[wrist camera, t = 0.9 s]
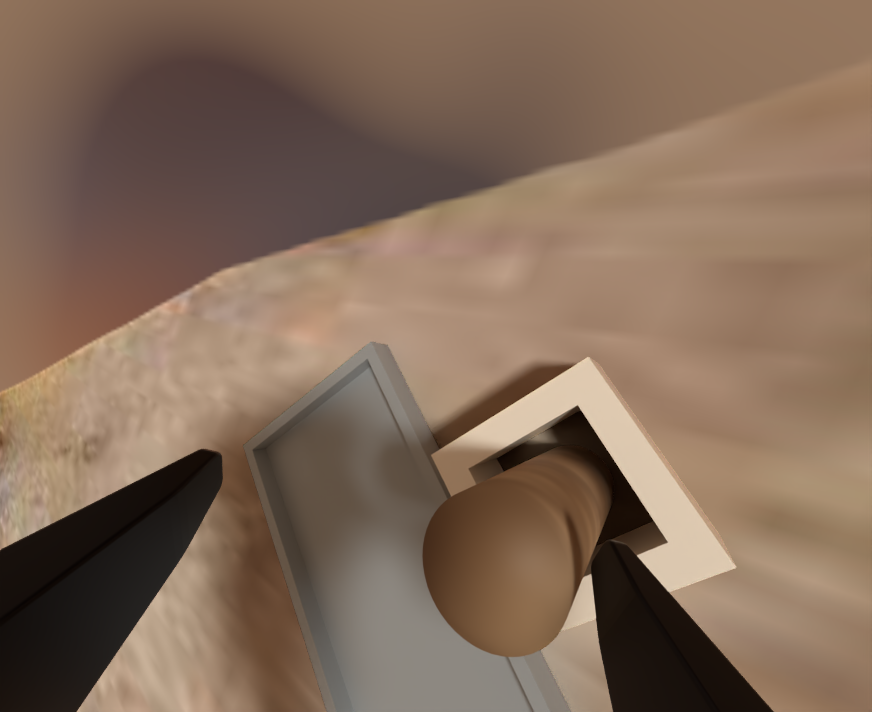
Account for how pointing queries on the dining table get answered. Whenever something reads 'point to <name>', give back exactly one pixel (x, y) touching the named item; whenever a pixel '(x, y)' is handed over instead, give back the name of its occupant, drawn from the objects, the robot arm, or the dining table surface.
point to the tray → (374, 552)
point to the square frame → (634, 455)
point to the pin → (517, 549)
